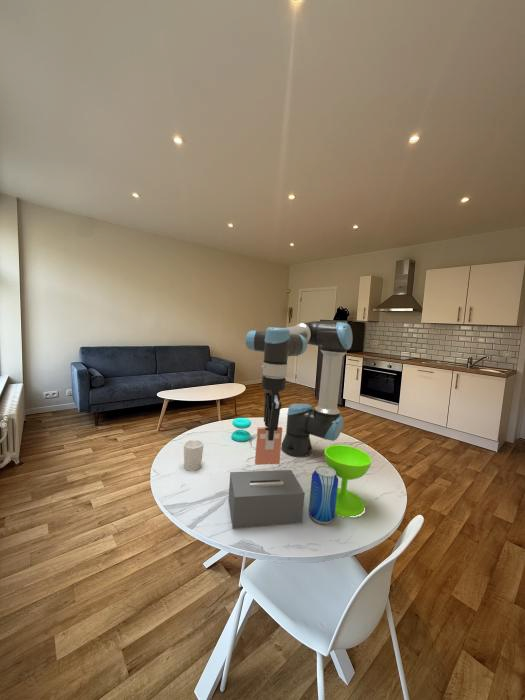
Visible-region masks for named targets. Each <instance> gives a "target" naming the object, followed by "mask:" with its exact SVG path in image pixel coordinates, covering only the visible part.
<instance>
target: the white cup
mask: <svg viewBox="0 0 525 700" xmlns="http://www.w3.org/2000/svg"><path fill="white" fill-rule="evenodd" d="M203 452H204V442H203V441H201V440H198V439H190V440H187V441H185V442H184V443H183V462H184V465H183V467H184V470H186V471H188V472H193V471H197V470H200V469H201V467H202V461H203V460H202V459H203V454H204V453H203Z"/></svg>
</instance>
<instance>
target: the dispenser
mask: <svg viewBox="0 0 525 700" xmlns="http://www.w3.org/2000/svg"><path fill="white" fill-rule="evenodd" d="M304 502H305V492H304V490H303V488H302V486H301V485H300V482H299V481H298V479H297V477H296V476H295V474H294V472H293V471H292V469H281V470H280V469H277V470H275V469H274V470H273V469H272V470H250V471H230V472H229V487H228V506H229V513H230V520H231V527H232V529H242V528H255V527H256V528H257V527H268V526H269V527H270V526H280V525H293V524H302V523H303V515H304V514H303V513H304V504H305V503H304Z"/></svg>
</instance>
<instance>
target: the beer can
mask: <svg viewBox="0 0 525 700" xmlns="http://www.w3.org/2000/svg"><path fill="white" fill-rule="evenodd" d="M310 481H311V483H310V490H309V491H310V492H309V500H308V501H309V503H308V514H309V516H310V518H311V519H312V520H313V521H314V522H316V523H317V524H321V525H328V524H330V523H332V521H333V520H335V516H336V515H335V508H336V498H337V488H338V486H339V477H338V476H337V475H336V471H335V470H334V469H333V468H331V467H328V465H317V466H316V467H315V470H314V471H312V474H311V479H310Z"/></svg>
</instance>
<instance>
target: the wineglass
mask: <svg viewBox="0 0 525 700" xmlns="http://www.w3.org/2000/svg"><path fill="white" fill-rule="evenodd" d="M323 450H324V451H323V452H324V460H325V463H326V466H328V467H331V468H333V469H334V470H335V471H336V475H337V477H338V478H340V479H341V484H340V485H341V487H340V488H337V498H336V508H335V514H336V515H335V516H338V515H339V516H338V517H341V516H344V517H343V518H346V517H350V516H356V515H359V514H361V513H362V512H363V511H364V508H365V506H366V504H365V502H364V501H363V499H362V498H361V497H360V496H358V494H356V493H354V492H353V491H350V490H348V489H347V488H348V480H349V481H350V480H355V479H359V478H362V477H363V476H364V475H365V474H367V472H368V471H369V469H370V468H371V465H372V457H371V456H370V455H369V454H368V453H367V452H365V451H364V450H361V449H359V448H357V447H355V446H351V445H350V446H349V445H344V444H333V445H329V446H327V447H325V449H323ZM364 504H365V505H364Z"/></svg>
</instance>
